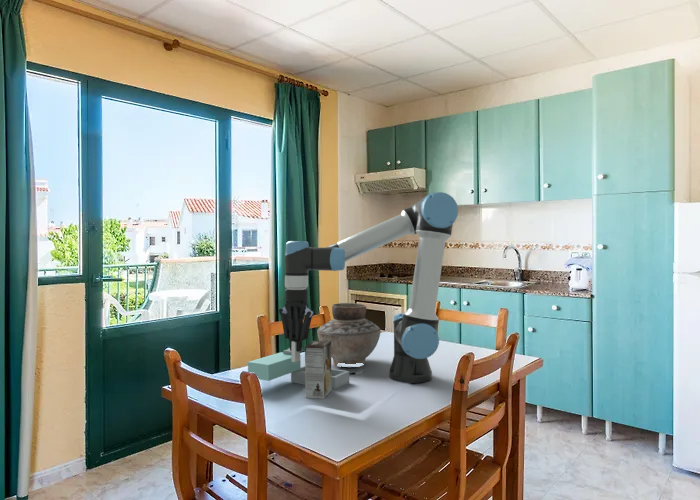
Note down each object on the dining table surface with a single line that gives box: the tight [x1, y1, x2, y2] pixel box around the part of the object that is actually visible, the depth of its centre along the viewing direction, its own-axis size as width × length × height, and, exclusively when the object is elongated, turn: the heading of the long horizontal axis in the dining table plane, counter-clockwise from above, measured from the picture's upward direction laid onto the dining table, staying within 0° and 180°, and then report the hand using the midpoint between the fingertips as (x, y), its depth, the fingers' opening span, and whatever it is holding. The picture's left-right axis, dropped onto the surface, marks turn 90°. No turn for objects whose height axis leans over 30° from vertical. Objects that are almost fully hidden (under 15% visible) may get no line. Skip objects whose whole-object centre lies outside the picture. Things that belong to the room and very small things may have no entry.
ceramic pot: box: [317, 302, 382, 367], centre depth 189 cm, size 25×25×24 cm
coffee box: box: [304, 340, 333, 399], centre depth 151 cm, size 9×6×16 cm
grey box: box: [290, 365, 350, 390], centre depth 165 cm, size 21×9×10 cm, turn 59°
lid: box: [247, 347, 303, 382], centre depth 162 cm, size 22×9×6 cm, turn 149°
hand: (295, 361), depth 155 cm, fingers closed
